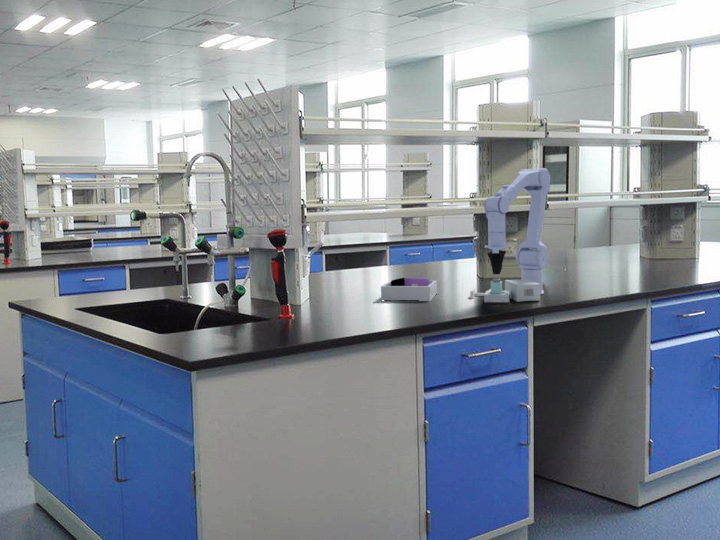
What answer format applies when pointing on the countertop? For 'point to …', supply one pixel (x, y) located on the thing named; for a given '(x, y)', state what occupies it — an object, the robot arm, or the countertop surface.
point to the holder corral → (409, 292)
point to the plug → (496, 286)
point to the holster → (472, 293)
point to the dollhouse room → (410, 282)
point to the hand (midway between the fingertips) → (497, 273)
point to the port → (497, 297)
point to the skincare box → (523, 290)
